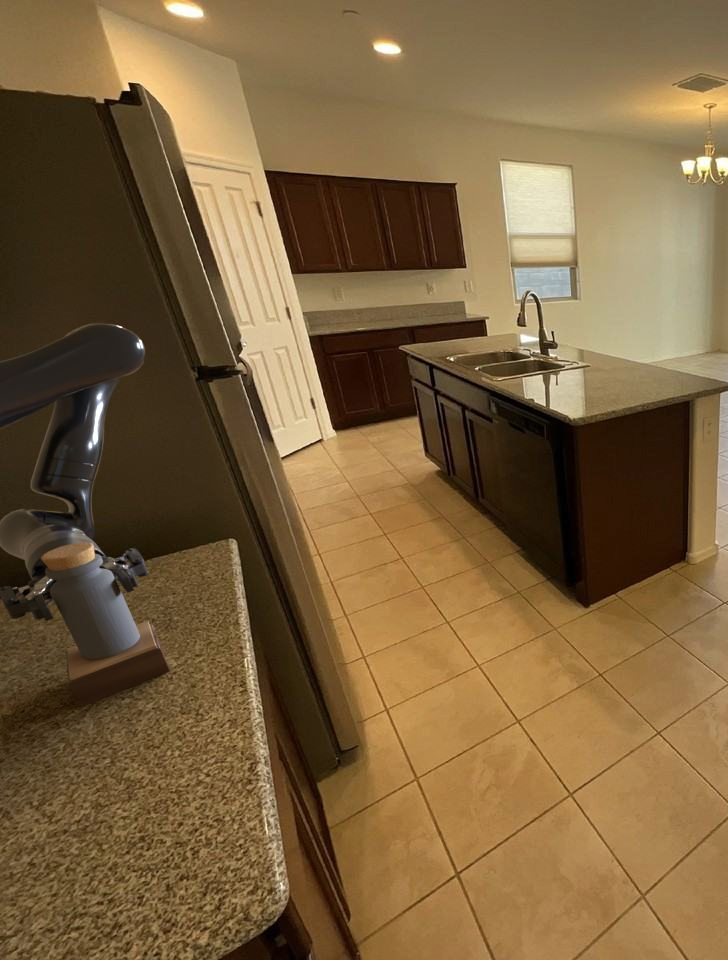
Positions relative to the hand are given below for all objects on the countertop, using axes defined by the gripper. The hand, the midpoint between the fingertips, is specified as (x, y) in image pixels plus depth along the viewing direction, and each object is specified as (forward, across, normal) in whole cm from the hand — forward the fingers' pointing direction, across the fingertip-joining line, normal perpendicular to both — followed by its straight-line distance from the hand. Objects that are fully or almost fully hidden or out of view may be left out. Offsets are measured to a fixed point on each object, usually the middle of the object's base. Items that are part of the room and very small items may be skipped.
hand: (89, 598), depth 67 cm
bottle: (-2, 0, +9) cm, 9 cm away
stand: (-2, 0, +13) cm, 13 cm away
